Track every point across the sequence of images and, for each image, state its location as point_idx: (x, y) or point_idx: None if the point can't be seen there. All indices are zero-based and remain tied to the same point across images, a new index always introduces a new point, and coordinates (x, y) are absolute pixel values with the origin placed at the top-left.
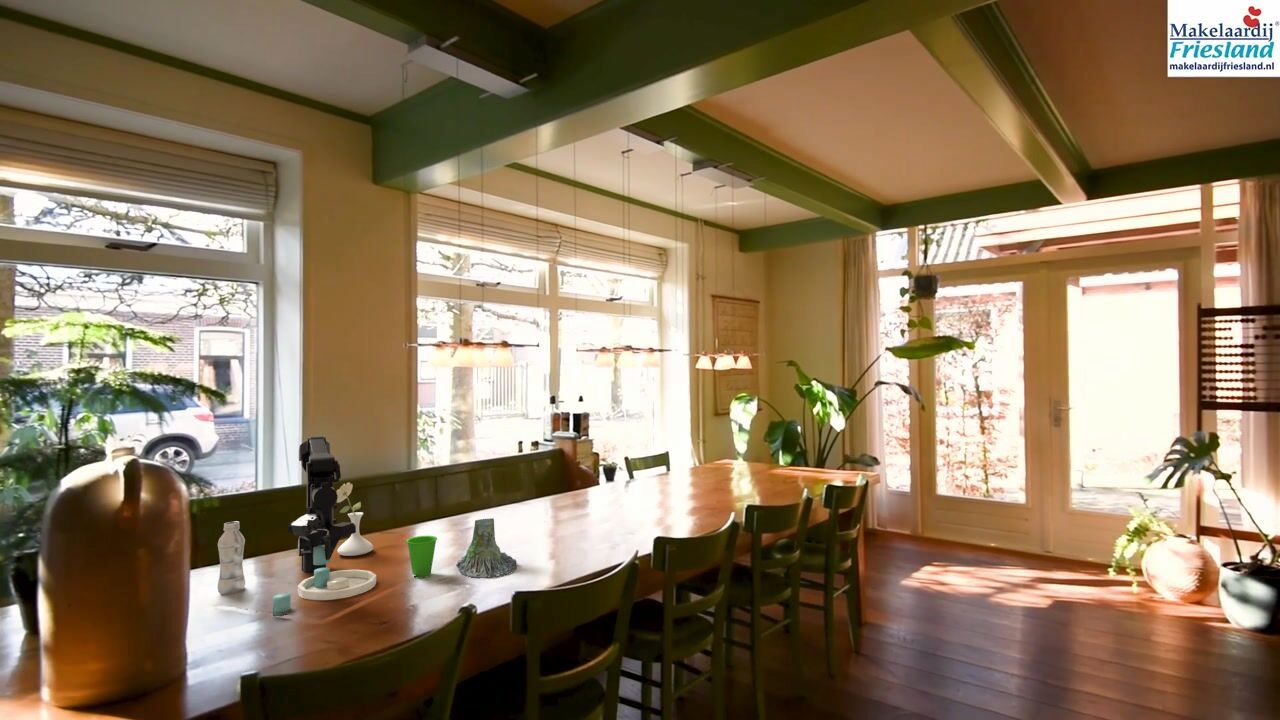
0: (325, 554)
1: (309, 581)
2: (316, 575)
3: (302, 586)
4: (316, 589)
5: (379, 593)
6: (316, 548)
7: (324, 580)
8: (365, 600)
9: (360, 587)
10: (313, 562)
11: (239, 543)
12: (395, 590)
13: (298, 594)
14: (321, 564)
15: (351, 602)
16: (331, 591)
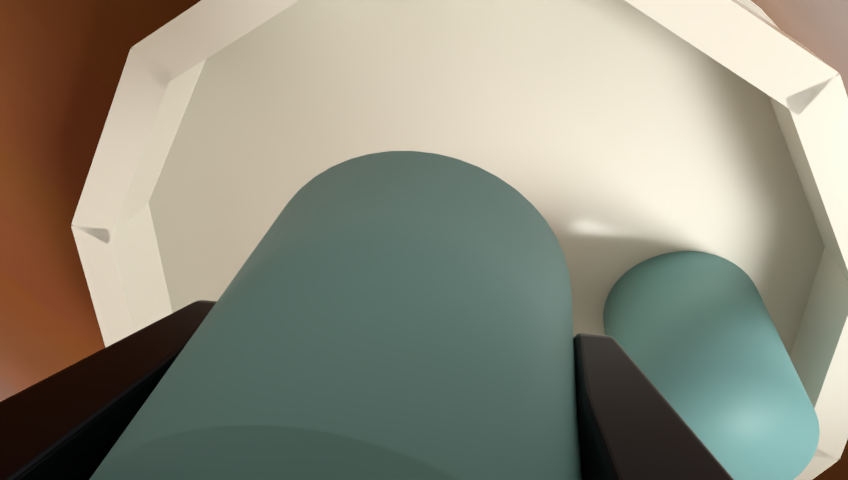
0: (145, 363)
1: (832, 306)
2: (720, 332)
3: (746, 74)
4: (650, 207)
5: (75, 298)
6: (273, 433)
7: (620, 324)
8: (20, 133)
9: (85, 237)
10: (517, 209)
11: None
12: (30, 372)
13: (760, 11)
14: (299, 192)
15: (82, 54)
16: (204, 13)
